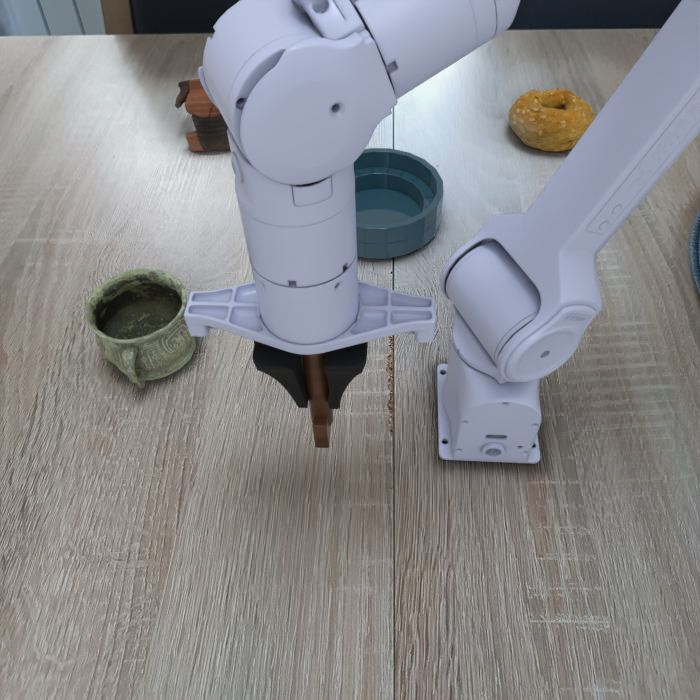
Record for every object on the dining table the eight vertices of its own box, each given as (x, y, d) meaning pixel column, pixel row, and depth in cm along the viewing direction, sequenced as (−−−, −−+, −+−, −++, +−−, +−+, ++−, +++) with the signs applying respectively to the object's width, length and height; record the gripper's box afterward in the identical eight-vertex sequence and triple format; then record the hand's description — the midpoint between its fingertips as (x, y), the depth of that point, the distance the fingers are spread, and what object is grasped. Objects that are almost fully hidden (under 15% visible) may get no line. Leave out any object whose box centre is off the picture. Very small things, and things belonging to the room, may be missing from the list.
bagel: (612, 142, 79) (623, 106, 75) (532, 165, 76) (540, 128, 73) (565, 102, 85) (574, 66, 81) (490, 121, 82) (495, 85, 79)
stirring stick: (333, 448, 48) (324, 364, 40) (311, 447, 48) (298, 364, 40) (336, 414, 49) (328, 327, 42) (315, 413, 50) (303, 326, 42)
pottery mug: (166, 154, 81) (154, 82, 78) (213, 147, 89) (203, 82, 86) (247, 149, 76) (237, 72, 73) (289, 143, 84) (281, 73, 81)
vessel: (121, 302, 65) (100, 255, 60) (210, 300, 64) (197, 253, 60) (92, 403, 57) (65, 358, 52) (192, 401, 57) (176, 356, 52)
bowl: (441, 263, 67) (444, 230, 63) (310, 260, 68) (307, 226, 64) (438, 182, 75) (441, 148, 72) (322, 180, 76) (320, 147, 72)
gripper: (439, 202, 37) (425, 354, 47) (184, 199, 37) (226, 348, 48) (443, 294, 32) (426, 438, 43) (154, 287, 33) (207, 430, 44)
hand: (320, 396), depth 45 cm, fingers closed on stirring stick, 1 cm apart
